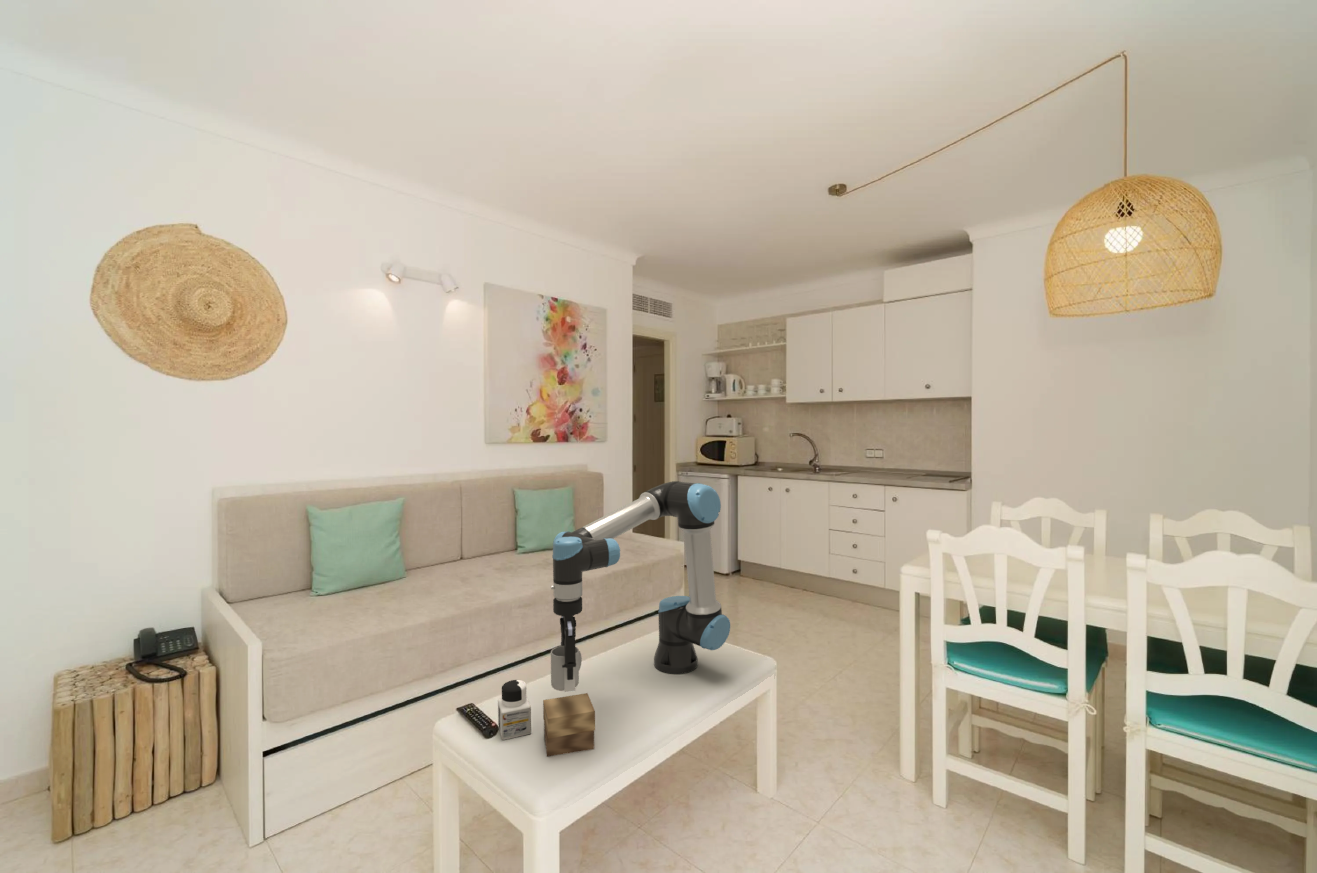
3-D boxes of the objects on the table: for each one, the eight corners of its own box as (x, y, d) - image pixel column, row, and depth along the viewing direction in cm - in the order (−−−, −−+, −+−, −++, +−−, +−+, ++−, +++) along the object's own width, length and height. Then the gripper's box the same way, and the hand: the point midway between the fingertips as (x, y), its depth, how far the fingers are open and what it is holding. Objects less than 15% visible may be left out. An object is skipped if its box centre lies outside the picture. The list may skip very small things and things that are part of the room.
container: (502, 740, 147) (501, 692, 147) (498, 726, 154) (497, 680, 154) (531, 734, 150) (530, 686, 150) (526, 720, 157) (525, 674, 157)
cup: (545, 686, 145) (544, 653, 144) (570, 671, 153) (570, 639, 153) (566, 693, 141) (566, 659, 141) (591, 678, 149) (590, 645, 149)
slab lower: (588, 729, 153) (588, 711, 153) (594, 750, 143) (593, 731, 143) (544, 736, 150) (544, 717, 150) (546, 757, 140) (546, 738, 140)
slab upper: (587, 710, 153) (587, 693, 153) (595, 730, 144) (594, 711, 144) (543, 718, 149) (543, 700, 149) (548, 738, 140) (547, 719, 140)
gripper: (550, 586, 155) (551, 667, 155) (555, 611, 135) (556, 704, 135) (577, 584, 157) (578, 664, 157) (586, 608, 137) (587, 700, 137)
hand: (568, 682), depth 146 cm, fingers closed on cup, 8 cm apart
